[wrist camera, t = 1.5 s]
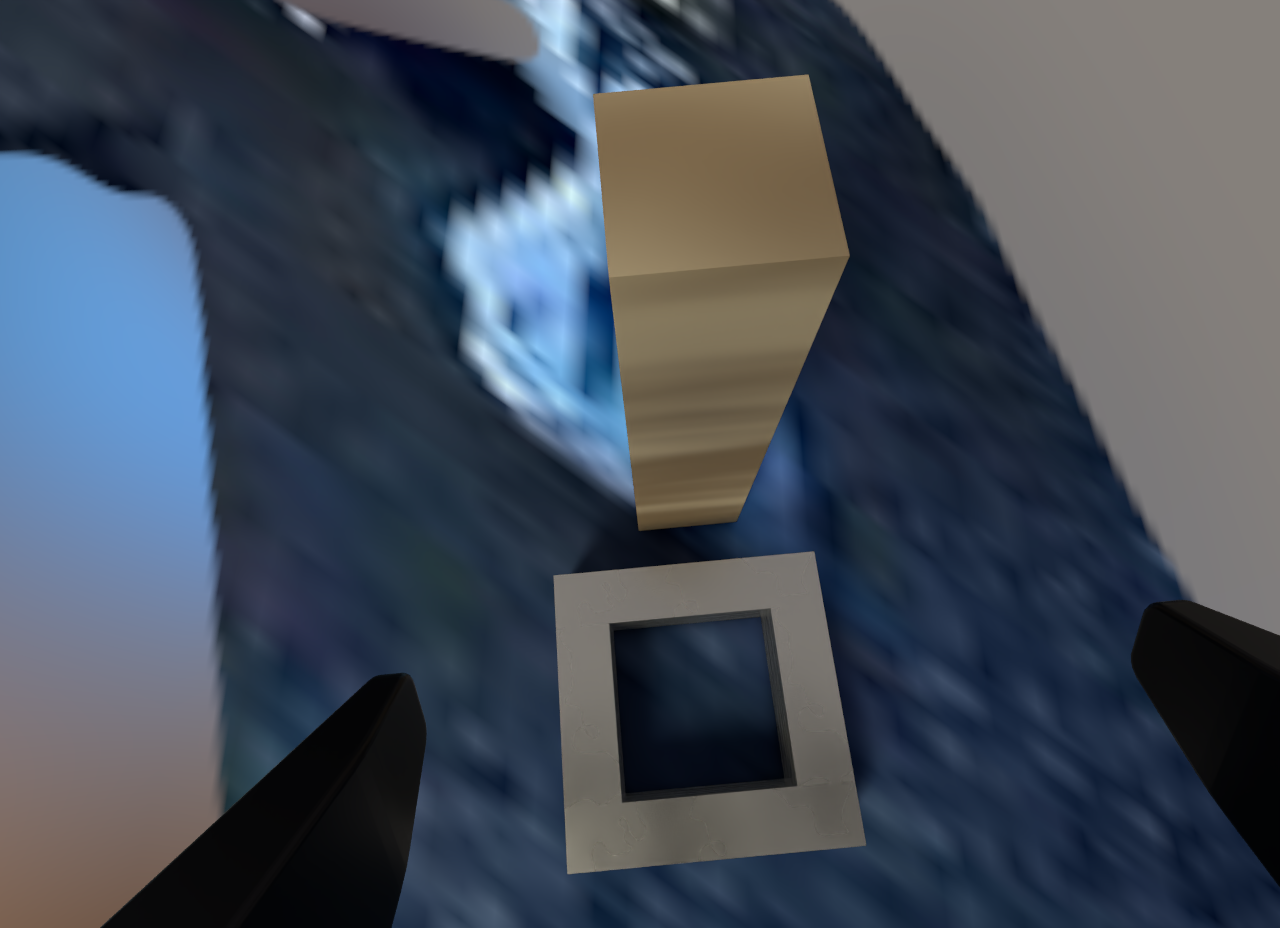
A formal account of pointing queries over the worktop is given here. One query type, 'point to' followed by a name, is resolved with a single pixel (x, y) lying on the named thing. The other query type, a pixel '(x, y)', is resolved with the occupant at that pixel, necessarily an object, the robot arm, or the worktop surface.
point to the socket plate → (716, 814)
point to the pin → (713, 279)
